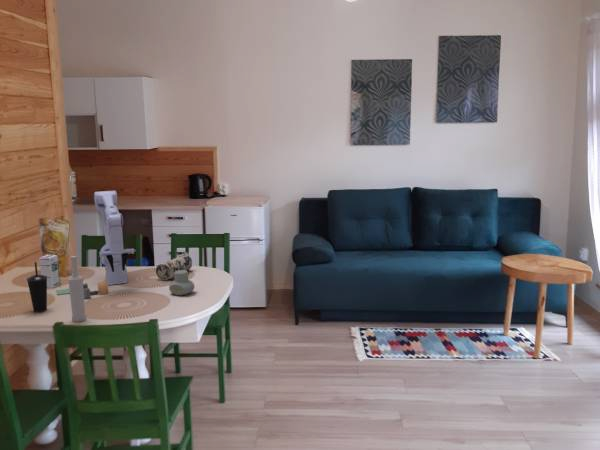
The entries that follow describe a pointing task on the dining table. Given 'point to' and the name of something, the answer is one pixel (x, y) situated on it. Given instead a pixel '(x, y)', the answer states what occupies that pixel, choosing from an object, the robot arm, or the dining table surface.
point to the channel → (86, 291)
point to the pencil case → (173, 266)
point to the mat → (63, 291)
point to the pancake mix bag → (55, 240)
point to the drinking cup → (38, 291)
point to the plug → (101, 288)
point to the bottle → (76, 293)
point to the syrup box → (50, 270)
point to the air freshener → (181, 283)
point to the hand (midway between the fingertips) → (118, 270)
